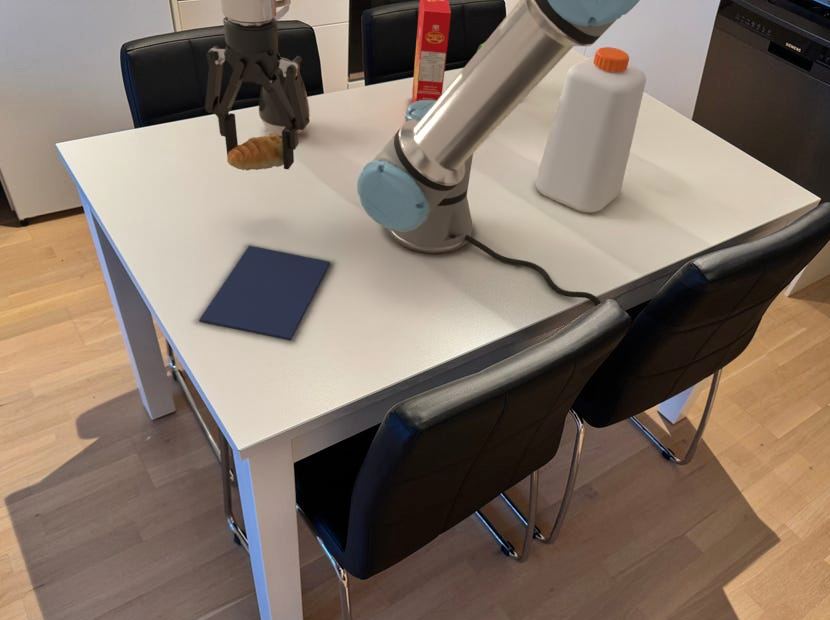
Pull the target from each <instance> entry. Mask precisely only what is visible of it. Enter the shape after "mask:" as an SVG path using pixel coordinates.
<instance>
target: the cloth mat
mask: <svg viewBox="0 0 830 620" xmlns="http://www.w3.org/2000/svg"><path fill="white" fill-rule="evenodd" d="M330 265H331V261H329V260H328V261H327V260H324V259H320V258H319V259H318V258H314V257H309V256H303V255H298V254H293V253H290V252H289V253H288V252H283V251H278V250H274V249H268V248H263V247H258V246H253V245H248V246H247V248H246V249H245V251H244V252H243V254H242V255H241V257H240V258H239V260H238V261H237V262H236V264H235V266H234V267H233V268H232V270H231V272H230V273H229V274H228V276H227V278H226V279H225V281H224V282H223V284H222V285H221V286H220V288H219V290H218V291H217V293H216V294H215V295H214V297H213V298H212V300H211V302H210V303H209V305H208V306H207V307H206V309H205V310H204V312H203V313H202V315H201V316H200V318H199V322H201V323H205V324H210V325H215V326H220V327H224V328H230V329H235V330H240V331H245V332H248V333H249V332H250V333H253V334H260V335H262V336H263V335H264V336H268V337H273V338H278V339H282V340H287V341H291V340H292V338H293V337H294V335H295V333H296V331H297V329H298V327H299V325H300V323H301V321H302V319H303V317H304V315H305V313H306V311H307V309H308V307H309V305H310V303H311V302H312V299H313V298H314V295H315V293H316V291H317V290H318V288H319V286H320V284H321V282H322V280H323V278H324V276H325V273H326V272H327V270H328V268H329V266H330Z"/></svg>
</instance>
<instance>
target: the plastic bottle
mask: <svg viewBox="0 0 830 620" xmlns="http://www.w3.org/2000/svg"><path fill="white" fill-rule="evenodd" d="M629 61H630V56H629V53H627V52H626V51H624V50H622V49H620V48H616V47H610V46H604V47H600V48H598V49H597V50H596V51H595V54H594V55H591V56H588V57H586V58H584V59H582V60H581V61H579V62H577V63H575V64H574V65H572V66H571V67H570V68H569V69H568V71H567V73H566V75H565V76H566V77H565V80H564V83H563V86H562V91H561V94H560V97H559V101H558V104H557V107H556V111H555V114H554V117H553V120H552V124H551V128H550V131H549V134H548V138H547V141H546V144H545V147H544V150H543V155H542V157H541V161H540V165H539V167H538V171H537V175H536V177H535V178H536V179H535V187H536V189H537V191H538V192H539V193H540V194H541V195H543V196H545V197H546V198H549V199H551V200H554V201H556V202H558V203H559V204H562V205H564V206H566V207H568V208H570V209H573V210H576V211H578V212H581V213H588V214H591V213H596V212H599V211H602V210H603V208H606V206H608V205H609V204H610V203H611V202H612V201H613V200H615V198H617V197H618V196H619V195H620V194H621V191H622V188H623V183H624V179H625V174H626V169H627V166H628V161H629V157H630V152H631V149H632V143H633V140H634V135H635V130H636V126H637V122H638V117H639V113H640V107H641V105H642V100H643V95H644V91H645V87H646V82H647V76H646V73H645V72H644V71H643V70H641V69H639V68H638V67H636V66H633V65H630V64H629Z"/></svg>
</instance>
